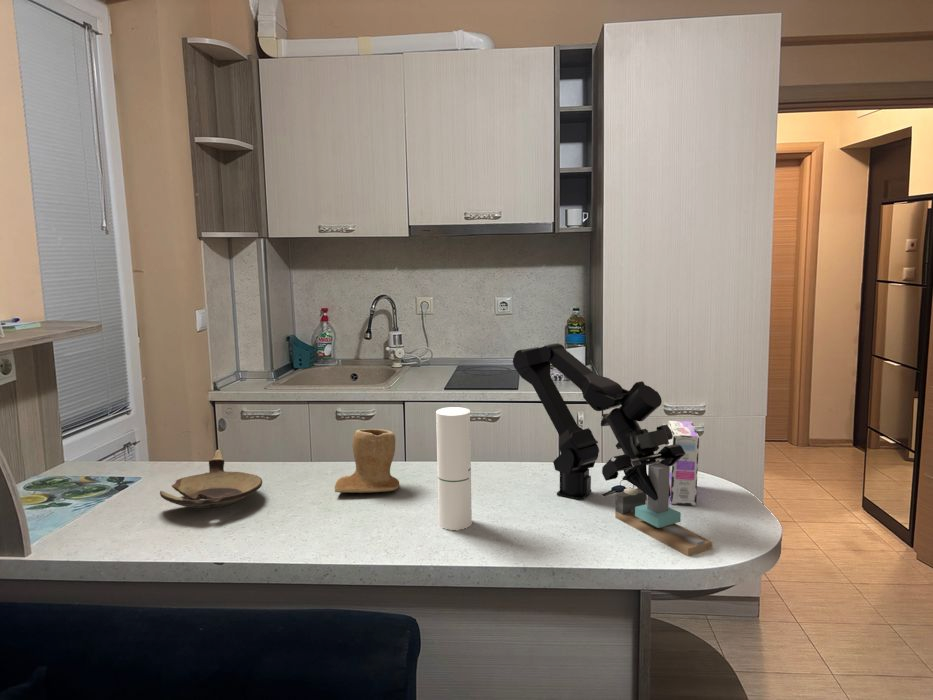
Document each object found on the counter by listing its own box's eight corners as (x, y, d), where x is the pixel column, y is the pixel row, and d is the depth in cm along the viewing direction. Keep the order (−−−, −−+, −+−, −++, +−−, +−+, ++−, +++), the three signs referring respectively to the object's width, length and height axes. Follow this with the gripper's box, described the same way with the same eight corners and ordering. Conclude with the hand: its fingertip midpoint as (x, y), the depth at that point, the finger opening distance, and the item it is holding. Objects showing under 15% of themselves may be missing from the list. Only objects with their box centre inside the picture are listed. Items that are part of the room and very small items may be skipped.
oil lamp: (140, 523, 157) (137, 490, 156) (204, 476, 187) (202, 448, 185) (238, 526, 155) (235, 492, 153) (286, 478, 184) (285, 450, 183)
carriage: (634, 515, 150) (636, 463, 148) (656, 510, 153) (658, 459, 151) (658, 527, 144) (659, 473, 142) (680, 521, 147) (682, 468, 145)
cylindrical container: (476, 519, 156) (474, 408, 152) (465, 532, 149) (463, 416, 145) (445, 515, 158) (443, 406, 154) (433, 528, 152) (430, 414, 148)
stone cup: (400, 479, 182) (399, 422, 179) (398, 497, 170) (396, 436, 167) (341, 481, 181) (338, 424, 179) (334, 498, 169) (331, 438, 167)
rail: (614, 516, 156) (614, 491, 155) (637, 511, 159) (637, 486, 158) (687, 556, 137) (688, 527, 136) (711, 548, 140) (713, 520, 139)
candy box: (697, 506, 161) (699, 436, 158) (670, 505, 162) (672, 435, 160) (690, 485, 175) (693, 420, 172) (665, 483, 176) (668, 419, 173)
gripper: (611, 419, 144) (647, 488, 136) (680, 407, 153) (718, 471, 145) (587, 446, 152) (620, 513, 144) (654, 434, 161) (688, 496, 153)
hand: (662, 497), depth 146 cm, fingers closed on carriage, 3 cm apart
